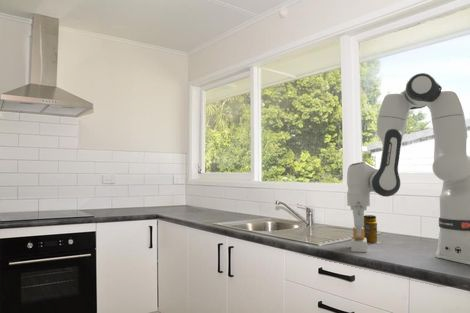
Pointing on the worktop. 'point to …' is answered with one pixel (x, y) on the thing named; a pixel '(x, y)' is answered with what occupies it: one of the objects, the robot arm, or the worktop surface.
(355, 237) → the orange wooden cube
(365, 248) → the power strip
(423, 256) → the worktop surface
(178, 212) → the worktop surface
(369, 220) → the condiment
